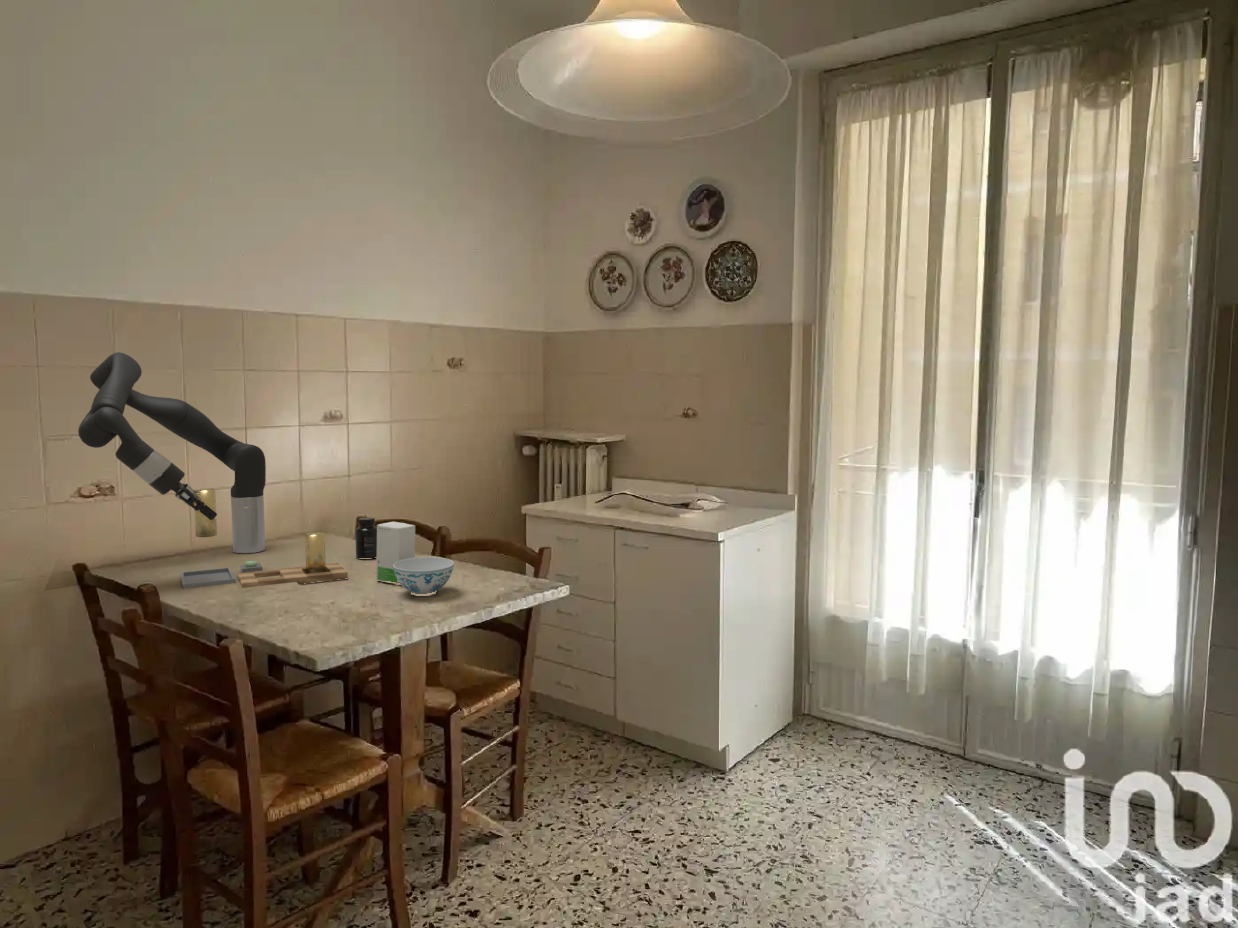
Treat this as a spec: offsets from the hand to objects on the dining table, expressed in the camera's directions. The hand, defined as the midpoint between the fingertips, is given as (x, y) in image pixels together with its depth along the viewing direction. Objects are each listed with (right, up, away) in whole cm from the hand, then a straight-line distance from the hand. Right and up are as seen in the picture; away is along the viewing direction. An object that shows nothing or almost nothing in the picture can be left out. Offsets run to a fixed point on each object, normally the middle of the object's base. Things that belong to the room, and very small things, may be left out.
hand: (213, 515), depth 215 cm
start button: (+5, -14, +10) cm, 18 cm away
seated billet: (+24, -17, +8) cm, 31 cm away
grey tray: (-2, -18, +1) cm, 18 cm away
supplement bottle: (+30, -15, +33) cm, 47 cm away
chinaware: (+57, -20, -6) cm, 60 cm away
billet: (-2, -5, 0) cm, 6 cm away
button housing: (+5, -17, +10) cm, 20 cm away
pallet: (+19, -18, +5) cm, 26 cm away
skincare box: (+47, -18, +5) cm, 50 cm away
